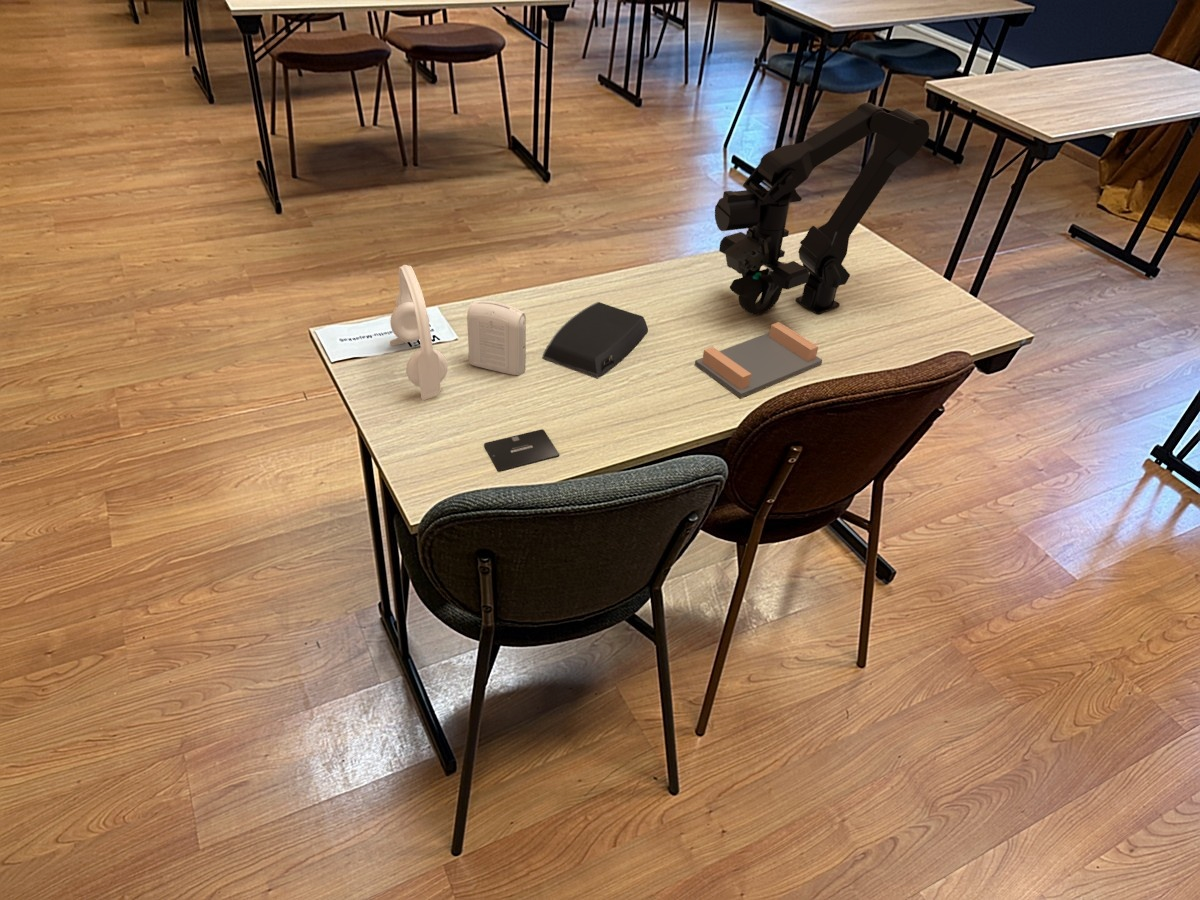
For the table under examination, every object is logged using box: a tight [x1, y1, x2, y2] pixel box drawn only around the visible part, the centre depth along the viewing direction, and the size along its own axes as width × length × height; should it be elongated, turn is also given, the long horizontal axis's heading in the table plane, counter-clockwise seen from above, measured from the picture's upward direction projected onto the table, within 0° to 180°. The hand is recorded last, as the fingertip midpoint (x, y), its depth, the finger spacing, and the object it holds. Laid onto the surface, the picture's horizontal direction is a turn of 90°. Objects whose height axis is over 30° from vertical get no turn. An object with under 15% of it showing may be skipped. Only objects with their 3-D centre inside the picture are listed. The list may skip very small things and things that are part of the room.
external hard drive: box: [541, 301, 649, 379], centre depth 153 cm, size 13×19×4 cm
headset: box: [389, 264, 449, 401], centre depth 139 cm, size 20×7×18 cm, turn 20°
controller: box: [729, 267, 784, 316], centre depth 162 cm, size 4×12×10 cm, turn 124°
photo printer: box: [466, 300, 527, 376], centre depth 143 cm, size 10×4×12 cm, turn 72°
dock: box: [694, 321, 823, 399], centre depth 150 cm, size 20×12×4 cm, turn 125°
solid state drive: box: [483, 429, 560, 472], centre depth 129 cm, size 7×10×1 cm
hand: (755, 299), depth 163 cm, fingers closed on controller, 4 cm apart
